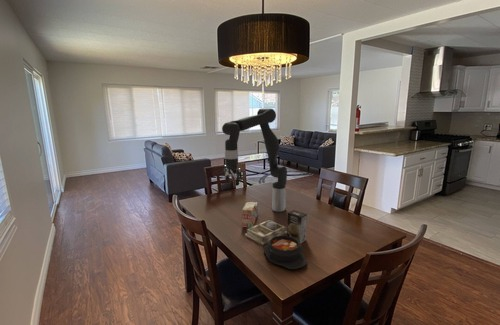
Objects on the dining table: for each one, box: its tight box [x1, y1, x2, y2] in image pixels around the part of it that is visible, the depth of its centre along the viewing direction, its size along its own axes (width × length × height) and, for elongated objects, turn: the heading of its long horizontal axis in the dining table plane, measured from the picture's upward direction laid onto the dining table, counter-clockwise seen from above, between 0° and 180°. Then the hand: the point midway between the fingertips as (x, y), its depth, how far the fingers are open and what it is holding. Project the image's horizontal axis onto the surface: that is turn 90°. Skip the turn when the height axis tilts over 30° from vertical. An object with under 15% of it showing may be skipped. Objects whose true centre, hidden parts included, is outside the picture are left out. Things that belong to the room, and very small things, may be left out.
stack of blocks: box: [241, 201, 259, 229], centre depth 168 cm, size 21×6×12 cm, turn 169°
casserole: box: [263, 234, 308, 270], centre depth 126 cm, size 25×19×8 cm
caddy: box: [244, 219, 287, 246], centre depth 150 cm, size 20×15×5 cm
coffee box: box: [286, 209, 308, 244], centre depth 143 cm, size 9×6×16 cm
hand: (232, 184), depth 151 cm, fingers open, 8 cm apart
